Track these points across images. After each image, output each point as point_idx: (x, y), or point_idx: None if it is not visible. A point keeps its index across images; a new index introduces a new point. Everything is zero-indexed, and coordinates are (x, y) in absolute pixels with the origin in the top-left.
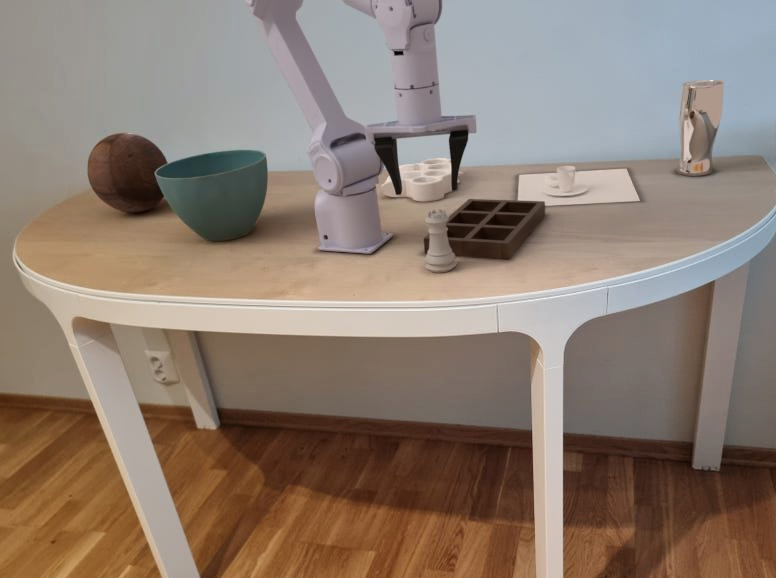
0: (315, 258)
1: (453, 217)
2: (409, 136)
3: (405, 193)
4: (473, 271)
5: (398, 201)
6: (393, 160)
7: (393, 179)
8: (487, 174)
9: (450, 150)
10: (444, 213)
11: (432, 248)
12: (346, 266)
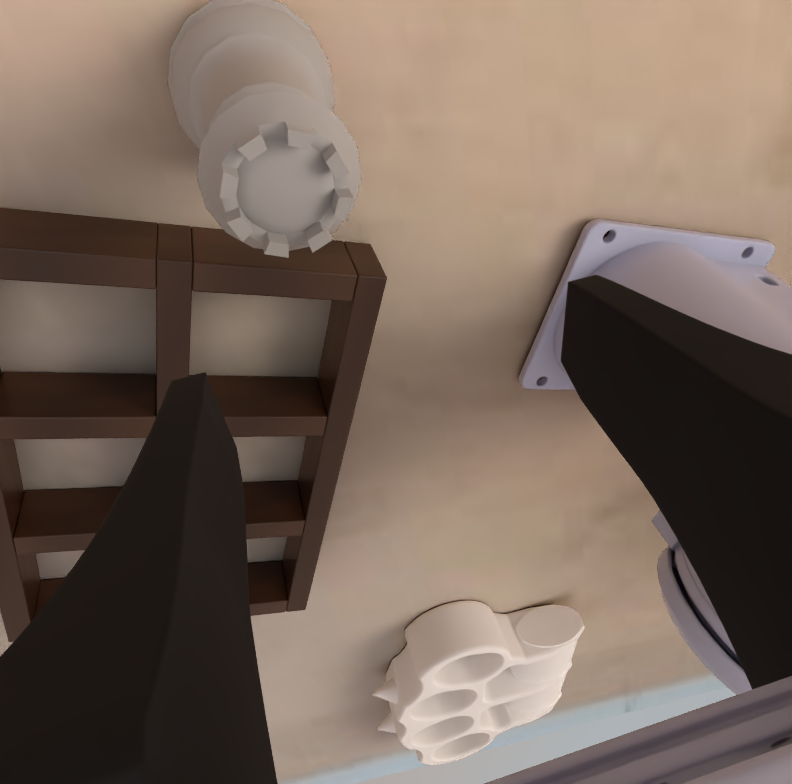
0: (785, 173)
1: (314, 482)
2: (712, 719)
3: (512, 622)
4: (51, 30)
5: (525, 591)
6: (777, 406)
7: (673, 318)
8: (322, 743)
9: (158, 630)
10: (221, 185)
11: (288, 66)
12: (680, 90)
